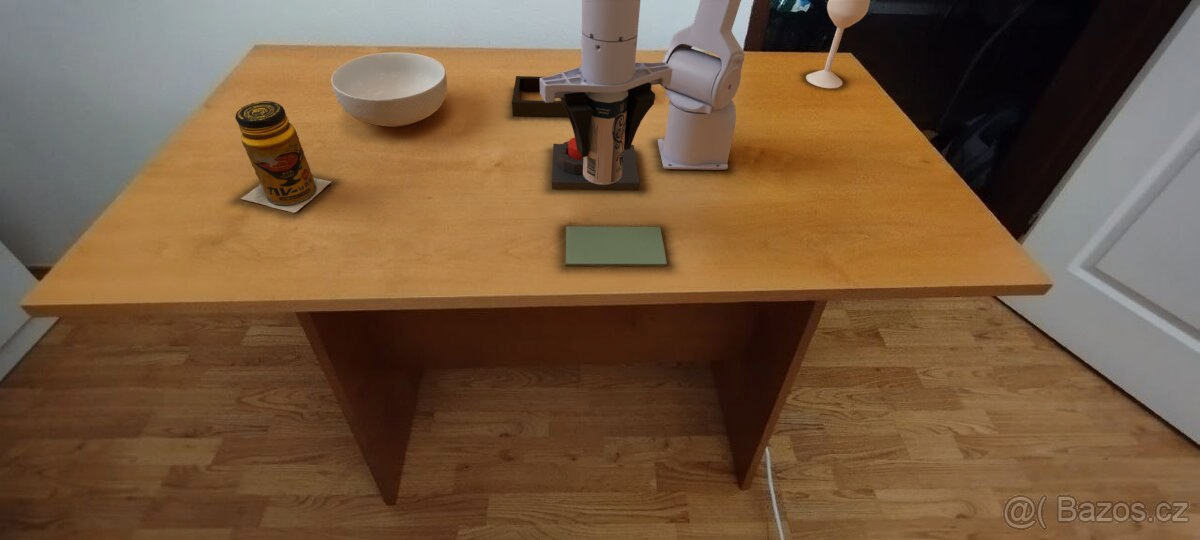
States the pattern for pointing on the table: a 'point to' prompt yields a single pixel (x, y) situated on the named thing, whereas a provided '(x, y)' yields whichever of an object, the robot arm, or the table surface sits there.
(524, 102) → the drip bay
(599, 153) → the beer can
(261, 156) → the condiment
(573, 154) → the button
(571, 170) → the control block
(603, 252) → the mat
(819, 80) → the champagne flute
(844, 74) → the table surface
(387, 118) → the cereal bowl
